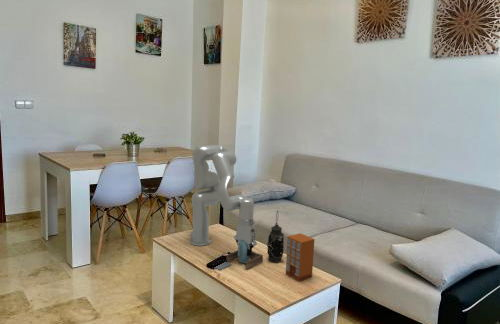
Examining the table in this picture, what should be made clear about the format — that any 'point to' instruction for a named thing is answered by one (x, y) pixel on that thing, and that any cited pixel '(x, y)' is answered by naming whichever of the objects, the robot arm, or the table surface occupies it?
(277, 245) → the lantern
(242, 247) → the jug
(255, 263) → the brown u-shaped frame
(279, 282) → the table surface
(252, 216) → the robot arm
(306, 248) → the miniature building
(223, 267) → the coaster
